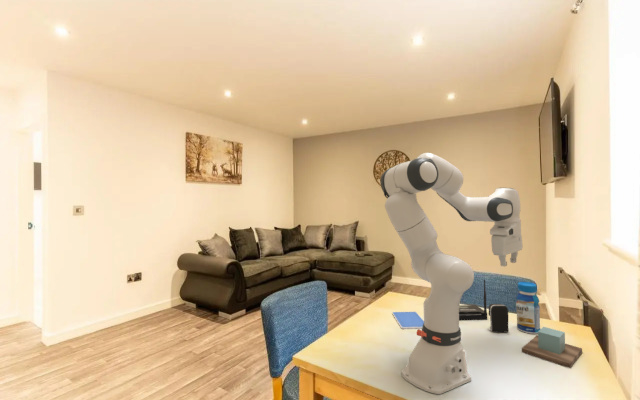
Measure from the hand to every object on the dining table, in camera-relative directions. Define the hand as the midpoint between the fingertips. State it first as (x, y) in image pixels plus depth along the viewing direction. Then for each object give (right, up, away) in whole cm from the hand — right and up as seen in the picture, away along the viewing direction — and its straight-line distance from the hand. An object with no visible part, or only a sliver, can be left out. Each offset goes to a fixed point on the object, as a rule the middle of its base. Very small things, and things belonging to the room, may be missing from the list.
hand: (508, 264), depth 117 cm
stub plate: (+11, -31, -7) cm, 34 cm away
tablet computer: (-31, -33, +25) cm, 52 cm away
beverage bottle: (+16, -31, +11) cm, 37 cm away
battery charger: (+3, -31, +12) cm, 34 cm away
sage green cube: (+11, -29, -7) cm, 32 cm away
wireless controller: (-1, -32, +29) cm, 43 cm away
